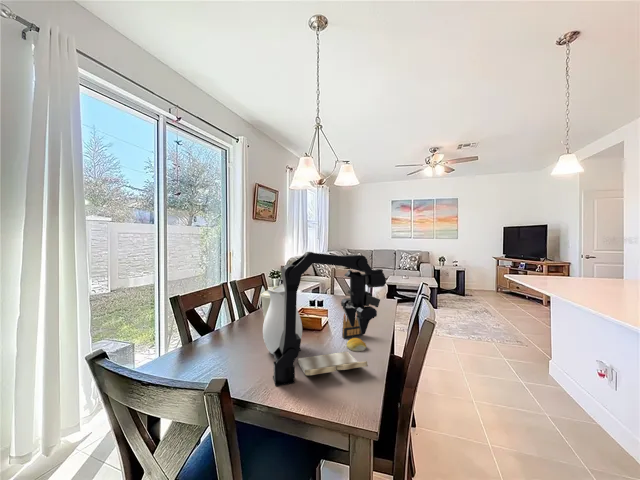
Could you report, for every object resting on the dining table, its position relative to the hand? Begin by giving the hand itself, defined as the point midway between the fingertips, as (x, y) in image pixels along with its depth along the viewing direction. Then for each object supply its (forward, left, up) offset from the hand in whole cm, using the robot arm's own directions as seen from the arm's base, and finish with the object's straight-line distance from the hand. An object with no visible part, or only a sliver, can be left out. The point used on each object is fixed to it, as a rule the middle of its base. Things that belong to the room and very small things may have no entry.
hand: (357, 330), depth 106 cm
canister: (-20, +66, -15) cm, 71 cm away
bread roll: (+8, +18, -15) cm, 25 cm away
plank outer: (-4, -2, -13) cm, 13 cm away
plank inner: (-16, -2, -13) cm, 20 cm away
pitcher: (-22, +28, -15) cm, 39 cm away
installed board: (-10, +7, -14) cm, 19 cm away
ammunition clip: (+12, +31, -15) cm, 37 cm away
